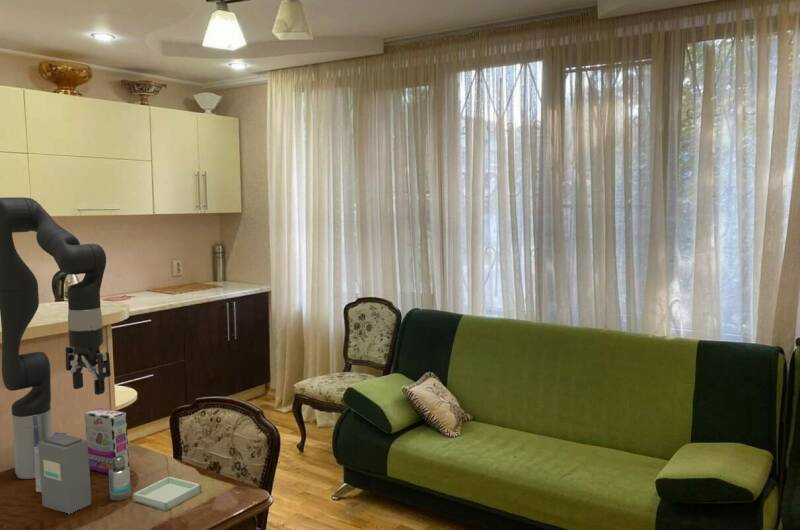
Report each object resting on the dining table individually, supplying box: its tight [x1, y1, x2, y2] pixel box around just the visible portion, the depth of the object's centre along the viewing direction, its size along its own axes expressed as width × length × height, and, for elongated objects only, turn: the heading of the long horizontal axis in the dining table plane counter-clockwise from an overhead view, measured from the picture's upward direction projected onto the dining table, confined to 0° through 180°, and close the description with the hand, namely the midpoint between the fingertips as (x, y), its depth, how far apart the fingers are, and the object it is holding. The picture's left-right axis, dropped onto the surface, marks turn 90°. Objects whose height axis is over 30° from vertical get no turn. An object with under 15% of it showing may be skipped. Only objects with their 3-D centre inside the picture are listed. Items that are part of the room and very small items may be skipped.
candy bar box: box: [84, 408, 130, 475], centre depth 179 cm, size 11×5×16 cm, turn 64°
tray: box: [132, 476, 202, 512], centre depth 162 cm, size 11×11×2 cm
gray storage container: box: [38, 434, 92, 515], centre depth 158 cm, size 10×6×17 cm, turn 62°
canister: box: [108, 456, 132, 501], centre depth 162 cm, size 5×5×10 cm
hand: (88, 391), depth 160 cm, fingers open, 8 cm apart
